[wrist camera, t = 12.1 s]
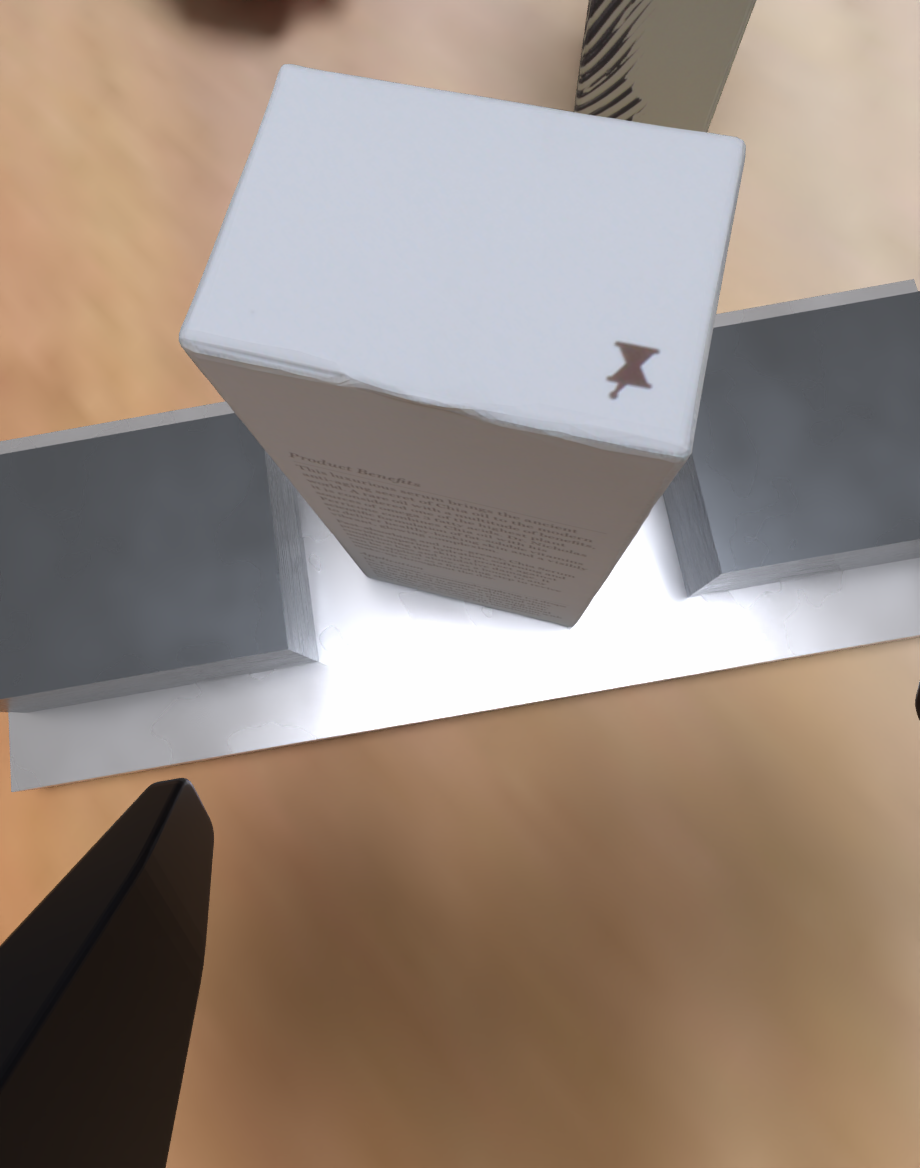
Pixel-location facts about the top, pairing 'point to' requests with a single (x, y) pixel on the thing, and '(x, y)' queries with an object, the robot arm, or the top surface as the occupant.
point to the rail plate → (435, 622)
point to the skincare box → (469, 327)
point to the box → (659, 59)
